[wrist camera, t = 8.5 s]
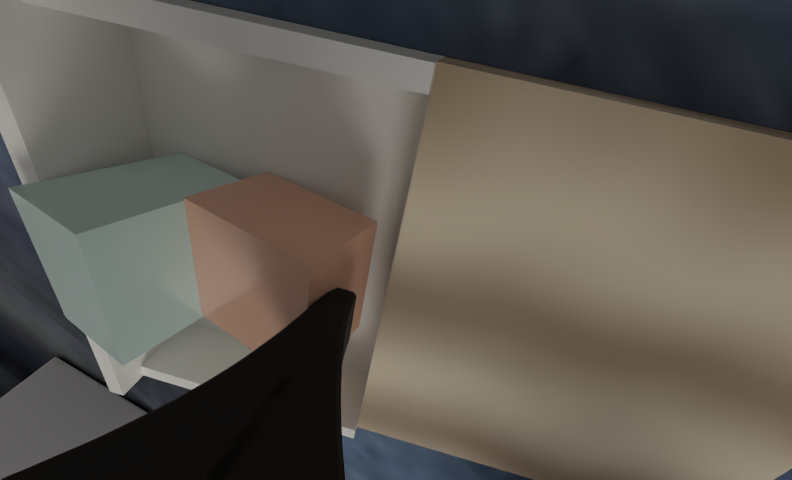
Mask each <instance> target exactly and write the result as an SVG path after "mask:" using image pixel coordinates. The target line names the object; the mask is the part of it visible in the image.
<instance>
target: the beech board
mask: <svg viewBox="0 0 792 480" xmlns="http://www.w3.org/2000/svg"><path fill="white" fill-rule="evenodd" d="M357 427H359V428H362V429H366V430H369V431H372V432H376V433H379V434H382V435H386V436H389V437H393V438H396V439H399V440H403V441H406V442H409V443H413V444H416V445H419V446H423V447H426V448H429V449H433V450H436V451H439V452H443V453H446V454H449V455H453V456H456V457H459V458H463V459H466V460H470V461H473V462H476V463H480V464H483V465H486V466H490V467H493V468H496V469H500V470H503V471H506V472H510V473H513V474H516V475H520V476H523V477H526V478H530V479H533V480H774V479H775V478H777V477H779V476H780V475H782V474H783V473H785V472H787V471H788V470H790V469H792V133H790V132H785V131H781V130H776V129H772V128H767V127H763V126H758V125H754V124H749V123H744V122H740V121H735V120H731V119H726V118H722V117H717V116H713V115H708V114H704V113H699V112H695V111H690V110H686V109H681V108H676V107H672V106H667V105H663V104H658V103H654V102H649V101H645V100H640V99H636V98H631V97H627V96H622V95H618V94H613V93H608V92H604V91H599V90H595V89H590V88H586V87H581V86H577V85H572V84H568V83H563V82H559V81H554V80H550V79H545V78H540V77H536V76H531V75H527V74H522V73H518V72H513V71H509V70H504V69H500V68H495V67H491V66H486V65H482V64H477V63H472V62H468V61H463V60H459V59H454V58H450V57H443V58H442V59H440V60H439V61H437V64H436V69H435V74H434V78H433V83H432V87H431V92H430V96H429V101H428V105H427V110H426V115H425V119H424V124H423V128H422V133H421V137H420V142H419V146H418V151H417V156H416V160H415V165H414V169H413V174H412V178H411V183H410V187H409V192H408V197H407V201H406V206H405V210H404V215H403V219H402V224H401V228H400V233H399V238H398V242H397V247H396V251H395V256H394V260H393V265H392V269H391V274H390V279H389V283H388V288H387V292H386V297H385V301H384V306H383V310H382V315H381V320H380V324H379V329H378V333H377V338H376V342H375V347H374V351H373V356H372V361H371V365H370V370H369V374H368V379H367V383H366V388H365V392H364V397H363V402H362V406H361V411H360V415H359V420H358V424H357Z"/></svg>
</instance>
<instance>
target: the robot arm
mask: <svg viewBox="0 0 792 480" xmlns="http://www.w3.org/2000/svg"><path fill="white" fill-rule="evenodd" d="M356 297H357V296H356V294H355V293H354V292H352V291H349V290H345V289H341V288H336V289H333V290H331V291H329V292H327V293H326V294H325V295H323V296H322V297H321V298H320V299H318V300H317V301H316V302H315V303H313V304H312V305H311V306H310V307H309V308H308V309H307V310H305V311H304V312H303V313H302V314H301V315H300V316H298V317H297V318H296V319H295V320H293V321H292V322H291V323H290V324H288V325H287V326H286V327H285V328H284V329H282V330H281V331H280V332H278V333H277V334H276V335H275V336H273V337H272V338H270V339H269V340H268V341H266V342H265V343H264V344H262V345H261V346H259V347H258V348H257V349H255V350H254V351H253V352H251V353H250V354H248V355H247V356H245V357H244V358H242V359H241V360H239V361H238V362H236V363H235V364H233V365H232V366H230V367H229V368H227V369H225V370H224V371H222V372H221V373H219V374H217V375H216V376H214V377H213V378H211V379H209V380H208V381H206V382H204V383H202V384H201V385H199V386H197V387H195V388H194V389H192V390H190V391H188V392H187V393H185V394H183V395H181V396H180V397H178V398H176V399H174V400H172V401H170V402H169V403H167V404H165V405H163V406H161V407H159V408H157V409H155V410H153V411H151V412H149V413H147V414H145V415H143V416H141V417H139V418H137V419H135V420H133V421H131V422H129V423H127V424H125V425H123V426H121V427H119V428H116V429H114V430H112V431H110V432H108V433H106V434H104V435H102V436H100V437H98V438H95V439H93V440H91V441H89V442H87V443H84V444H82V445H80V446H77V447H75V448H73V449H70V450H68V451H66V452H63V453H61V454H59V455H56V456H54V457H52V458H49V459H47V460H45V461H42V462H40V463H38V464H35V465H33V466H31V467H28V468H26V469H24V470H21V471H19V472H16V473H14V474H11V475H9V476H7V477H4V478H3V479H1V480H345V473H344V460H343V447H342V425H341V379H342V362H343V359H344V355H345V351H346V348H347V345H348V342H349V339H350V333H351V327H352V321H353V315H354V309H355V303H356Z"/></svg>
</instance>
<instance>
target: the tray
mask: <svg viewBox="0 0 792 480" xmlns="http://www.w3.org/2000/svg"><path fill="white" fill-rule="evenodd" d="M443 57H445V56H441V55H436V54H432V53H427V52H423V51H418V50H414V49H409V48H404V47H400V46H395V45H391V44H386V43H382V42H377V41H373V40H368V39H364V38H359V37H355V36H350V35H346V34H341V33H336V32H332V31H327V30H323V29H318V28H314V27H309V26H305V25H300V24H296V23H291V22H287V21H282V20H278V19H273V18H268V17H264V16H259V15H255V14H250V13H246V12H241V11H237V10H232V9H228V8H223V7H219V6H214V5H210V4H205V3H201V2H196V1H191V0H0V132H1V135H2V137H3V139H4V142H5V144H6V147H7V149H8V151H9V154H10V156H11V158H12V161H13V163H14V166H15V168H16V170H17V173H18V175H19V177H20V180H21V182H22V184H23V185H24V184H29V183H34V182H39V181H44V180H49V179H54V178H59V177H64V176H69V175H74V174H79V173H84V172H89V171H94V170H99V169H104V168H109V167H114V166H119V165H124V164H129V163H134V162H139V161H144V160H149V159H154V158H159V157H164V156H169V155H174V154H179V153H185V154H187V155H189V156H191V157H193V158H195V159H197V160H199V161H202V162H204V163H206V164H208V165H210V166H212V167H214V168H216V169H218V170H221V171H223V172H225V173H227V174H229V175H231V176H233V177H235V178H237V179H240V180H242V179H246V178H249V177H252V176H256V175H259V174H262V173H265V172H269V173H271V174H274V175H276V176H278V177H280V178H282V179H285V180H287V181H289V182H291V183H294V184H296V185H298V186H300V187H302V188H305V189H307V190H309V191H311V192H313V193H316V194H318V195H320V196H322V197H325V198H327V199H329V200H331V201H333V202H336V203H338V204H340V205H342V206H344V207H347V208H349V209H351V210H353V211H356V212H358V213H360V214H362V215H364V216H367V217H369V218H371V219H373V220H376V221H378V224H377V229H376V235H375V240H374V246H373V251H372V257H371V263H370V268H369V274H368V279H367V285H366V290H365V296H364V302H363V307H362V313H361V318H360V324H359V327H358V328H357V329H356V330H355V331H354V332H353V333H352V334H351V335H350V339H349V342H348V345H347V348H346V351H345V355H344V359H343V362H342V379H341V425H342V435H344V436H347V437H350V438H354V435H355V432H356V428H357V424H358V420H359V415H360V411H361V406H362V402H363V397H364V392H365V388H366V383H367V379H368V374H369V370H370V365H371V361H372V356H373V351H374V347H375V342H376V338H377V333H378V329H379V324H380V320H381V315H382V310H383V306H384V301H385V297H386V292H387V288H388V283H389V279H390V274H391V269H392V265H393V260H394V256H395V251H396V247H397V242H398V238H399V233H400V228H401V224H402V219H403V215H404V210H405V206H406V201H407V197H408V192H409V187H410V183H411V178H412V174H413V169H414V165H415V160H416V156H417V151H418V146H419V142H420V137H421V133H422V128H423V124H424V119H425V115H426V110H427V105H428V101H429V96H430V92H431V87H432V83H433V78H434V74H435V69H436V64H437V61H439V60H440V59H442V58H443ZM86 336H87V335H86ZM87 338H88V341H89V343H90V346H91V348H92V350H93V353H94V355H95V357H96V360H97V362H98V365H99V367H100V369H101V372H102V374H103V376H104V379H105V381H106V383H107V386H108V388H109V391H110V392H113V393H116V394H120V395H123V396H124V395H125V394H126V393H127V392H128V390H129V389H130V388H131V387H132V386H133V385H134V384H135V383H136V382H137V381H138V380H139V379H140V378H141V377H142V376H143V375H144V376H148V377H151V378H154V379H158V380H161V381H164V382H168V383H171V384H174V385H178V386H181V387H184V388H188V389H191V390H192V389H194V388H195V387H197V386H199V385H201V384H202V383H204V382H206V381H208V380H209V379H211V378H213V377H214V376H216V375H217V374H219V373H221V372H222V371H224V370H225V369H227V368H229V367H230V366H232V365H233V364H235V363H236V362H238V361H239V360H241V359H242V358H244V357H245V356H247V355H248V354H250V353H251V352H253V350H251V349H250V348H248V347H247V346H246V345H244V344H243V343H241V342H240V341H238V340H237V339H235V338H234V337H233V336H231V335H230V334H228V333H227V332H225V331H224V330H223V329H221V328H220V327H218V326H217V325H215V324H214V323H213V322H211V321H210V320H208V319H207V318H205V317H204V316H203V317H202V318H200V319H199V320H197V321H195V322H194V323H192V324H190V325H189V326H187V327H186V328H184V329H182V330H181V331H179V332H177V333H176V334H174V335H173V336H171V337H169V338H168V339H166V340H165V341H163V342H161V343H160V344H158V345H156V346H155V347H153V348H152V349H150V350H148V351H147V352H145V353H143V354H142V355H140V356H139V357H137V358H135V359H134V360H132V361H131V362H129V363H127V364H126V365H124V366H122V365H121V364H120V363H119V362H118V361H117V360H115V359H114V358H113V357H112V356H111V355H109V354H108V353H107V352H106V351H105V350H104V349H102V348H101V347H100V346H99V345H98V344H97V343H95V342H94V341H93V340H92V339H91V338H89V337H88V336H87Z"/></svg>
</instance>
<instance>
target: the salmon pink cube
mask: <svg viewBox="0 0 792 480" xmlns="http://www.w3.org/2000/svg"><path fill="white" fill-rule="evenodd" d="M183 200H184V204H185V211H186V217H187V223H188V229H189V236H190V242H191V248H192V255H193V261H194V267H195V273H196V280H197V286H198V292H199V299H200V305H201V311H202V316H204V317H205V318H207V319H208V320H210V321H211V322H213V323H214V324H215V325H217V326H218V327H220V328H221V329H223V330H224V331H225V332H227V333H228V334H230V335H231V336H233V337H234V338H235V339H237V340H238V341H240V342H241V343H243V344H244V345H246V346H247V347H248V348H250V349H251V350H253V351H254V350H255V349H257V348H258V347H259V346H261V345H262V344H264V343H265V342H266V341H268V340H269V339H270V338H272V337H273V336H275V335H276V334H277V333H278V332H280V331H281V330H282V329H284V328H285V327H286V326H287V325H288V324H290V323H291V322H292V321H293V320H295V319H296V318H297V317H298V316H300V315H301V314H302V313H303V312H304V311H305V310H307V309H308V308H309V307H310V306H311V305H312V304H313V303H315V302H316V301H317V300H318V299H320V298H321V297H322V296H323V295H325V294H326V293H327V292H329V291H331V290H333V289H336V288H341V289H345V290H349V291H352V292H354V293H355V294H356V296H357V297H356V303H355V309H354V315H353V321H352V327H351V333H350V335H351V334H352V333H353V332H354V331H355V330H356V329H357V328H358V327H359V324H360V318H361V313H362V307H363V302H364V296H365V290H366V285H367V279H368V274H369V268H370V263H371V257H372V251H373V246H374V240H375V235H376V229H377V224H378V221H376V220H373V219H371V218H369V217H367V216H364V215H362V214H360V213H358V212H356V211H353V210H351V209H349V208H347V207H344V206H342V205H340V204H338V203H336V202H333V201H331V200H329V199H327V198H325V197H322V196H320V195H318V194H316V193H313V192H311V191H309V190H307V189H305V188H302V187H300V186H298V185H296V184H294V183H291V182H289V181H287V180H285V179H282V178H280V177H278V176H276V175H274V174H271V173H269V172H265V173H262V174H259V175H256V176H252V177H249V178H246V179H242V180H239V181H236V182H233V183H229V184H226V185H223V186H220V187H216V188H213V189H210V190H206V191H203V192H200V193H197V194H193V195H190V196H187V197H184V198H183Z"/></svg>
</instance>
